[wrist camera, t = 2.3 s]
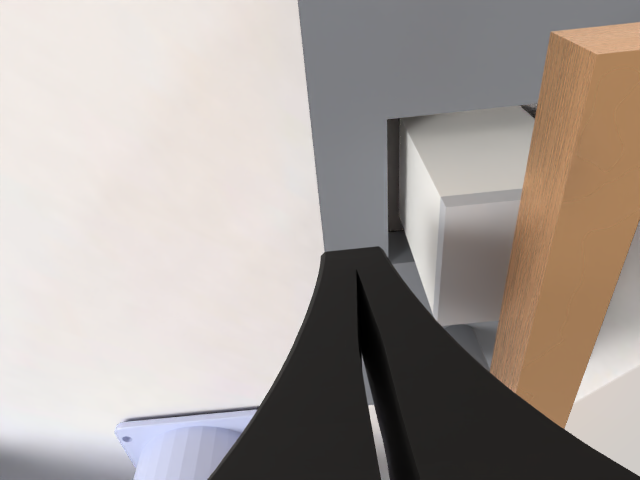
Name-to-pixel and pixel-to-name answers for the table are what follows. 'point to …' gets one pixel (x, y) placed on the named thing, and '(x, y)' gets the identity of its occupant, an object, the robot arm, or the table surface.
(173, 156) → the table surface
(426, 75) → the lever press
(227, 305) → the table surface
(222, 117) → the table surface
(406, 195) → the plug
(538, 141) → the wooden square stick
